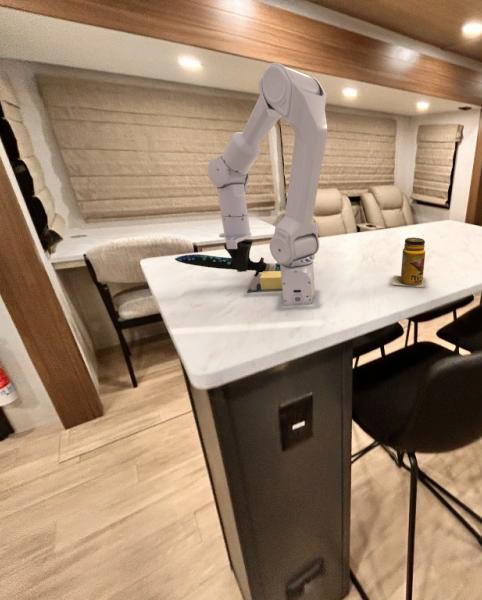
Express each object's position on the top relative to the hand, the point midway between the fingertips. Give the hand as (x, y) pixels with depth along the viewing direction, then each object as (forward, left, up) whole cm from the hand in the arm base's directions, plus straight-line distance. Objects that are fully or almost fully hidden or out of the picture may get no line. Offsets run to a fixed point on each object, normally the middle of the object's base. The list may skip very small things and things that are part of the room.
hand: (243, 270), depth 78 cm
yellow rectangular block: (-4, -8, -3) cm, 10 cm away
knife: (0, 0, -1) cm, 1 cm away
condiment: (-3, -43, -4) cm, 43 cm away
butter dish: (-1, -8, -4) cm, 9 cm away
